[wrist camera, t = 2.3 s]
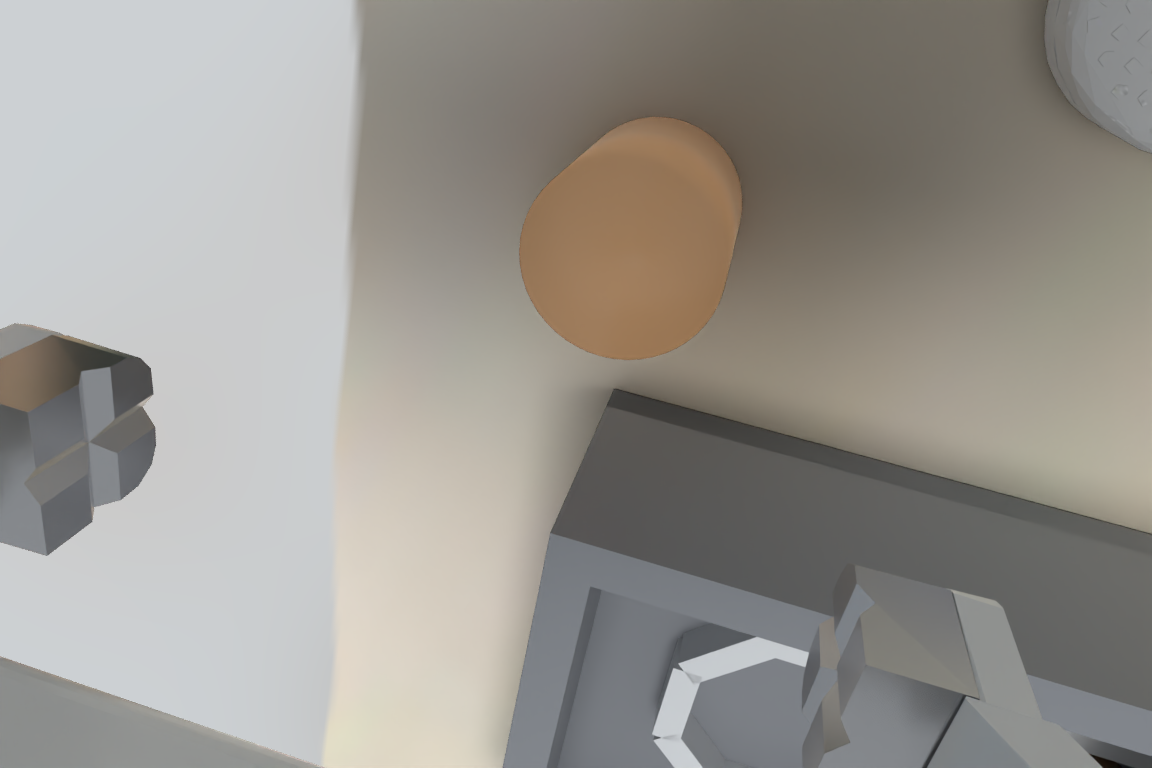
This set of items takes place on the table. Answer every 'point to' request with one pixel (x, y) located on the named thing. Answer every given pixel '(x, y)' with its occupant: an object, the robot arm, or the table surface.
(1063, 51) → the electronic device
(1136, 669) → the housing
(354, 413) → the table surface
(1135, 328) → the table surface
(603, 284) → the brown egg
